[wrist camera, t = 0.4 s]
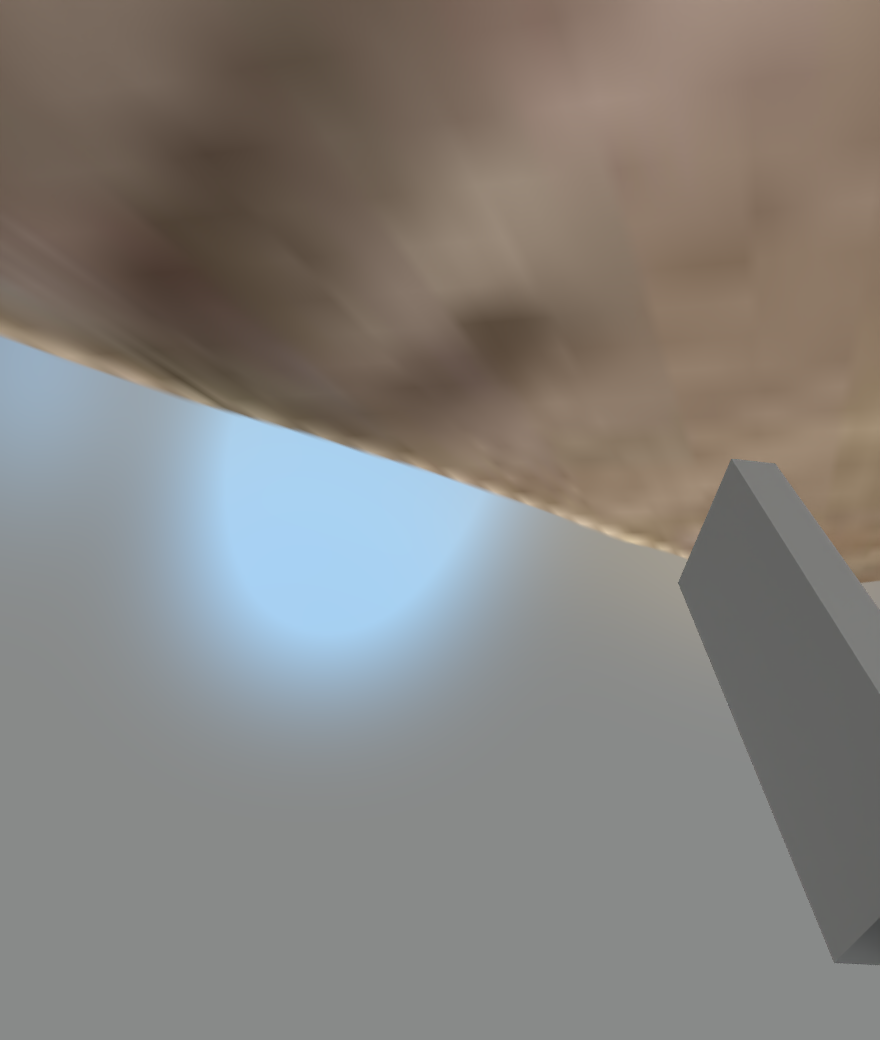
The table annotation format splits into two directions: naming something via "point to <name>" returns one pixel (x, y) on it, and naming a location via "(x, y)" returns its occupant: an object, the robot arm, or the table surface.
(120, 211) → the table surface
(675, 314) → the table surface
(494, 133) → the table surface
